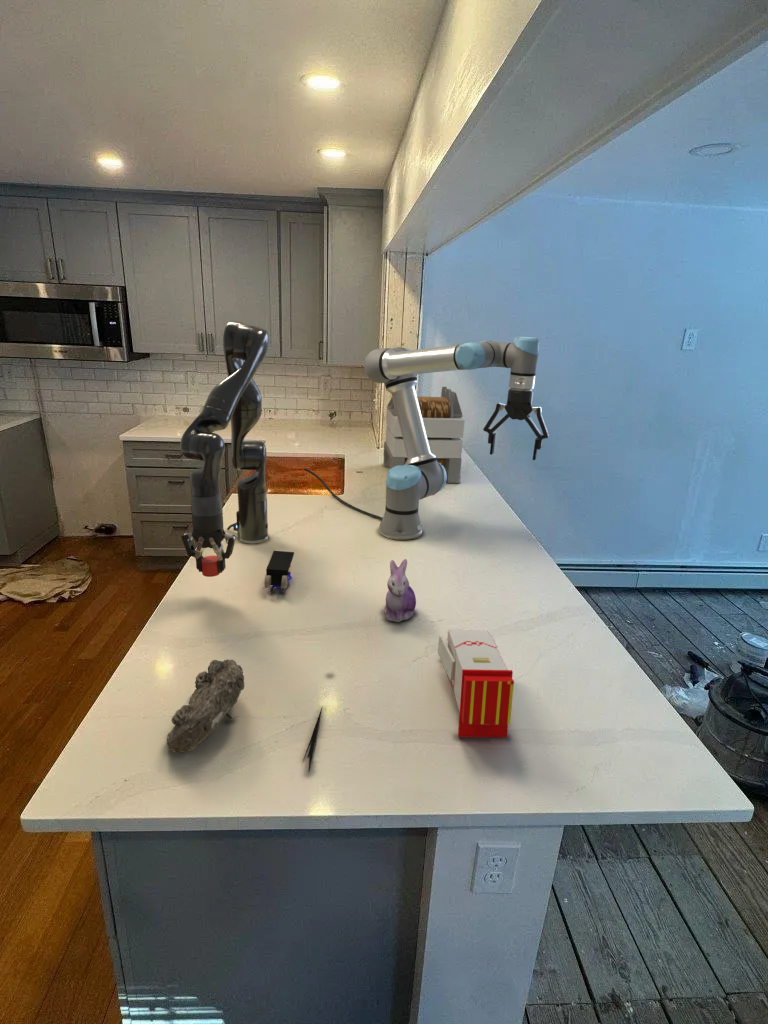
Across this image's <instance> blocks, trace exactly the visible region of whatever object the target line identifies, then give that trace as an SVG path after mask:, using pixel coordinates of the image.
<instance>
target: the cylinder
mask: <svg viewBox="0 0 768 1024" xmlns="http://www.w3.org/2000/svg"><path fill="white" fill-rule="evenodd" d="M201 563H202V572H201V574H202V576H203V577H207V578H213V577H217V576H219V575H220V574H221V573H218V557H217V555H205V556H203V558H202V559H201Z"/></svg>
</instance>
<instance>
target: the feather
mask: <svg viewBox="0 0 768 1024" xmlns="http://www.w3.org/2000/svg"><path fill="white" fill-rule="evenodd" d="M329 675H330V676H331V675H332V674H331V673H330V674H329ZM322 710H323V707H321V708H320V710H319V713H318V716H317V719H316V723H315V725H314V728H313V731H312V733H311V737H310V739H309V742H308V745H307V748H306V751H305V754H304V757H303V760H302V763H301V767H302V765H303V763H304V761H305V758H308V759H309V760H308V762H307V763H308V764H307V766H308V771H310V770H311V766H312V765H311V764H312V760H313V757H315V756H314V755H315V751H316V749H315V746H317V739H318V733H319V729H320V722H321V717H322V712H323V711H322ZM313 754H314V755H313ZM306 755H307V757H306Z"/></svg>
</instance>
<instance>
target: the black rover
mask: <svg viewBox="0 0 768 1024" xmlns="http://www.w3.org/2000/svg"><path fill="white" fill-rule="evenodd" d="M294 557H295V551H284V550H273V551H272V554H271V556H270V559H269V561H268V564H267V566H266V569H265V571H266V574H265V577H264V588H265V589H270V590H269V592H270V593H274V590H275V588H277V589H280V593H281V594H283V593H284V591H285V589H287V587H288V586H289V582H290V581H291V580H292V579H293V577H292V575H291V574H292V573H291V572H292V565H291V564H292V563H293V562H292V561H293V558H294Z"/></svg>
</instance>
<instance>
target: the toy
mask: <svg viewBox="0 0 768 1024" xmlns="http://www.w3.org/2000/svg"><path fill="white" fill-rule="evenodd" d="M446 640H447V643H446V641H445V639H444V636H443V635H442V634H439V637H438V646H437V656H438V657H439V659H440V661H441V663H442V666H443V668H444V670H445V672H446V674H447V677H448V679H449V681H450V684H451V687H452V690H453V693H454V697H455V701H456V705H457V708H458V711H459V714H458V715H459V716H458V730H457V731H458V732H457V737H458V738H508V731H509V726H510V725H511V717H512V707H513V697H514V696H513V695H514V684H515V680H514V679H513V673H514V671H513V670H512V669H508V667H507V665H506V662H505V661H504V659H503V658H502V655H501V653H500V651H499V649H498V647H497V643H496V639H495V637H494V635H493V634H491V632H490V631H489V629H467V628H466V629H465V628H463V629H461V628H460V629H459V628H448V630H447V639H446Z"/></svg>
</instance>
